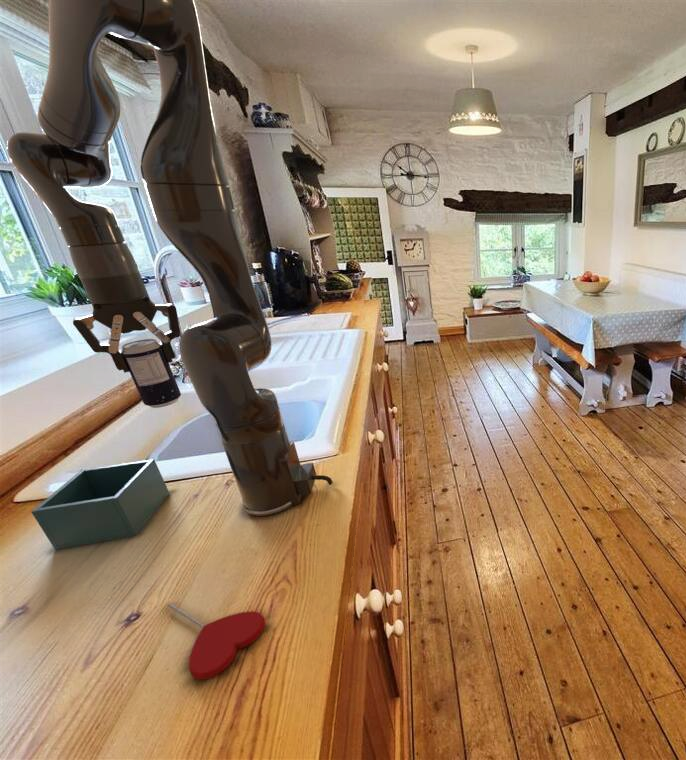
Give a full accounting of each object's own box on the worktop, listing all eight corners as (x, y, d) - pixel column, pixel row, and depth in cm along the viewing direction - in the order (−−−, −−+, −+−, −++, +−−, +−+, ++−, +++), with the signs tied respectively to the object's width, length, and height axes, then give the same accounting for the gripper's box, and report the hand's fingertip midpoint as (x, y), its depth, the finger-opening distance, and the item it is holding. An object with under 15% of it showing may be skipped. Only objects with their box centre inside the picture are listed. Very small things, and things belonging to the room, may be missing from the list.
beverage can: (190, 396, 80) (167, 337, 75) (165, 409, 75) (138, 348, 70) (164, 396, 81) (139, 338, 76) (137, 409, 76) (109, 348, 71)
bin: (169, 493, 76) (154, 458, 73) (136, 535, 66) (116, 498, 63) (100, 504, 74) (81, 469, 71) (54, 549, 64) (30, 511, 61)
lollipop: (133, 634, 51) (207, 688, 44) (130, 629, 50) (204, 683, 44) (202, 582, 57) (274, 623, 51) (199, 578, 57) (272, 618, 51)
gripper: (46, 281, 61) (96, 384, 68) (165, 268, 70) (199, 360, 77) (50, 277, 66) (96, 372, 73) (160, 265, 75) (192, 351, 82)
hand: (149, 365), depth 75 cm, fingers closed on beverage can, 5 cm apart
